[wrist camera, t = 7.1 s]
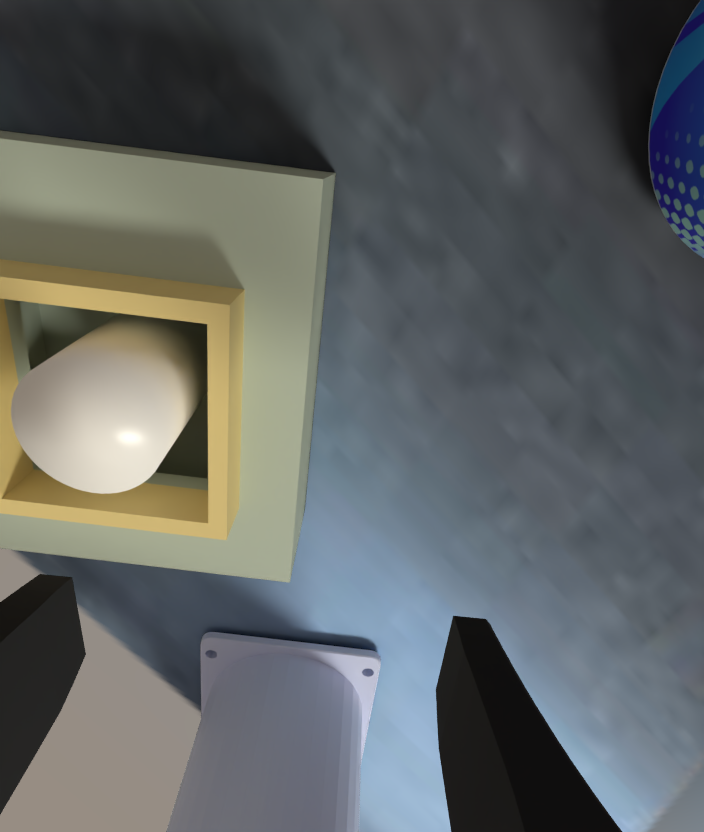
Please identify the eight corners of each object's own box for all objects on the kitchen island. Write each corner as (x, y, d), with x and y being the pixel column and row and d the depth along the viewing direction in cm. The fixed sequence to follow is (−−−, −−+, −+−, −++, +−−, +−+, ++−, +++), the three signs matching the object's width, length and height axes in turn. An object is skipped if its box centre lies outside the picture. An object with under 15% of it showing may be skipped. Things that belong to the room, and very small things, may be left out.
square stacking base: (304, 508, 21) (282, 618, 16) (47, 478, 21) (-55, 579, 16) (335, 172, 16) (316, 183, 11) (-9, 129, 16) (-188, 119, 11)
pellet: (224, 404, 19) (172, 496, 14) (119, 400, 19) (30, 490, 14) (216, 300, 17) (155, 361, 12) (101, 295, 17) (-7, 354, 12)
